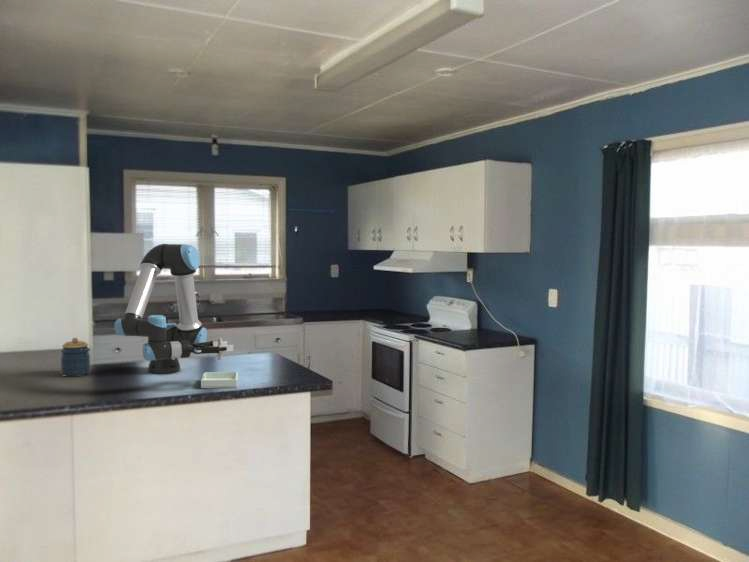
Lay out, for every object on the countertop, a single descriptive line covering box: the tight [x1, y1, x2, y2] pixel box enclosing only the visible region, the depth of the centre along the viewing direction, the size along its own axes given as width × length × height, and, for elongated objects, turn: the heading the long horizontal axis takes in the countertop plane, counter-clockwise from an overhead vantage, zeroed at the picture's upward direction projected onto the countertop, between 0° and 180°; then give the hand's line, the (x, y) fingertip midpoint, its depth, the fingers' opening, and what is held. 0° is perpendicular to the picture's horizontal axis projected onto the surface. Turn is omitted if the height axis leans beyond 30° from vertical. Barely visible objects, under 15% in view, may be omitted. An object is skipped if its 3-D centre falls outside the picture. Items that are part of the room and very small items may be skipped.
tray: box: [200, 371, 239, 389], centre depth 295 cm, size 16×16×4 cm
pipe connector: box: [217, 337, 223, 361], centre depth 293 cm, size 10×10×10 cm
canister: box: [59, 337, 91, 377], centre depth 306 cm, size 13×13×18 cm
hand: (230, 346), depth 296 cm, fingers closed on pipe connector, 9 cm apart
